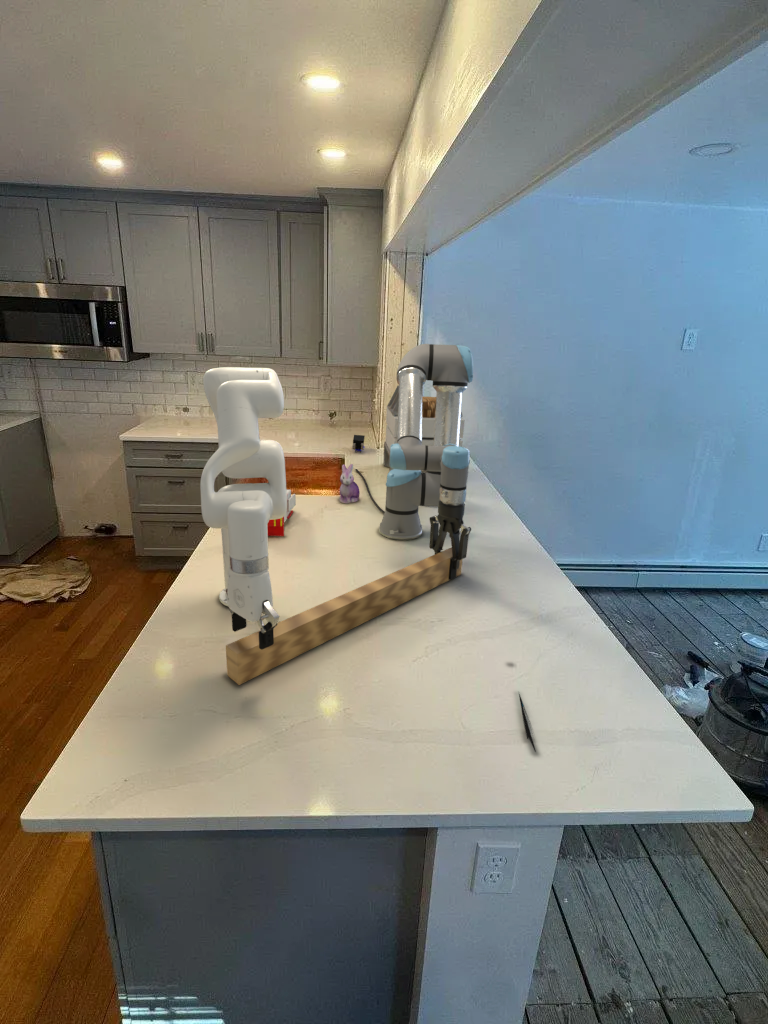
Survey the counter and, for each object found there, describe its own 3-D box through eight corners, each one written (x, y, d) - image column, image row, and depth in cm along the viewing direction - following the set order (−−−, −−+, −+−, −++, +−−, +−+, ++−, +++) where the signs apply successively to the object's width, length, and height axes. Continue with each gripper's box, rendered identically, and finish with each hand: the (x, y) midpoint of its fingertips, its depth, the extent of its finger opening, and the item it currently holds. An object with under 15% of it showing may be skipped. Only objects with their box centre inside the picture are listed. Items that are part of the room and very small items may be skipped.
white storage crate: (382, 463, 289) (386, 382, 275) (445, 464, 293) (451, 384, 279) (390, 482, 257) (394, 392, 243) (460, 483, 261) (468, 394, 247)
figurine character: (364, 456, 306) (364, 446, 320) (364, 442, 303) (365, 433, 317) (351, 455, 306) (352, 446, 320) (352, 442, 303) (353, 433, 316)
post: (449, 569, 174) (451, 547, 172) (461, 574, 171) (463, 551, 169) (227, 675, 120) (225, 645, 118) (239, 685, 117) (237, 654, 115)
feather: (511, 668, 129) (516, 662, 128) (535, 756, 102) (542, 749, 102) (505, 664, 129) (510, 658, 128) (527, 751, 102) (534, 744, 101)
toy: (297, 484, 217) (286, 498, 188) (297, 518, 220) (286, 537, 190) (265, 483, 217) (250, 497, 187) (266, 517, 219) (250, 537, 190)
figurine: (343, 505, 225) (344, 468, 220) (333, 497, 234) (334, 462, 229) (364, 502, 230) (366, 466, 225) (354, 495, 238) (355, 460, 233)
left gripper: (209, 554, 116) (214, 628, 122) (258, 581, 105) (262, 661, 110) (241, 545, 121) (244, 617, 127) (291, 570, 110) (292, 647, 116)
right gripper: (419, 496, 164) (414, 569, 172) (469, 512, 153) (461, 589, 161) (436, 491, 169) (430, 562, 177) (485, 506, 158) (476, 581, 166)
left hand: (252, 637), depth 119 cm, fingers open, 9 cm apart
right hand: (445, 575), depth 169 cm, fingers closed on post, 4 cm apart
